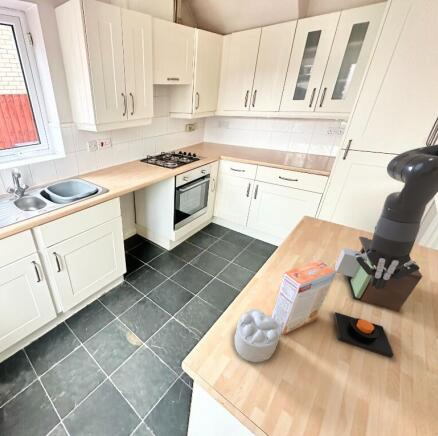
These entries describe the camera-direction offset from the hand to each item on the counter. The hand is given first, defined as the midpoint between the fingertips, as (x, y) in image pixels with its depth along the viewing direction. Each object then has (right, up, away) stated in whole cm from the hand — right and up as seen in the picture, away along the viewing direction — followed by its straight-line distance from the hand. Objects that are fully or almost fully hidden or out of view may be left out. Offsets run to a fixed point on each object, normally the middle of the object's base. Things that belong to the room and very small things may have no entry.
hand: (376, 287), depth 68 cm
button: (-1, -13, +3) cm, 13 cm away
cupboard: (+17, -7, +21) cm, 28 cm away
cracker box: (-18, -14, +10) cm, 25 cm away
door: (+9, -5, +22) cm, 24 cm away
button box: (-1, -16, +5) cm, 17 cm away
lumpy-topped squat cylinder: (-33, -18, +3) cm, 38 cm away
